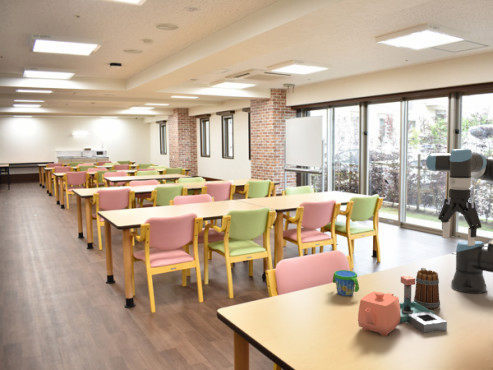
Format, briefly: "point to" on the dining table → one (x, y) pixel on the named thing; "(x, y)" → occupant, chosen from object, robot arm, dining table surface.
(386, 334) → the teapot
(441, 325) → the eye block
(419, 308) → the tray
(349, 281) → the snack cup
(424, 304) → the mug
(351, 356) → the dining table surface
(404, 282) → the rod with pink block
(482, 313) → the dining table surface
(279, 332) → the dining table surface
